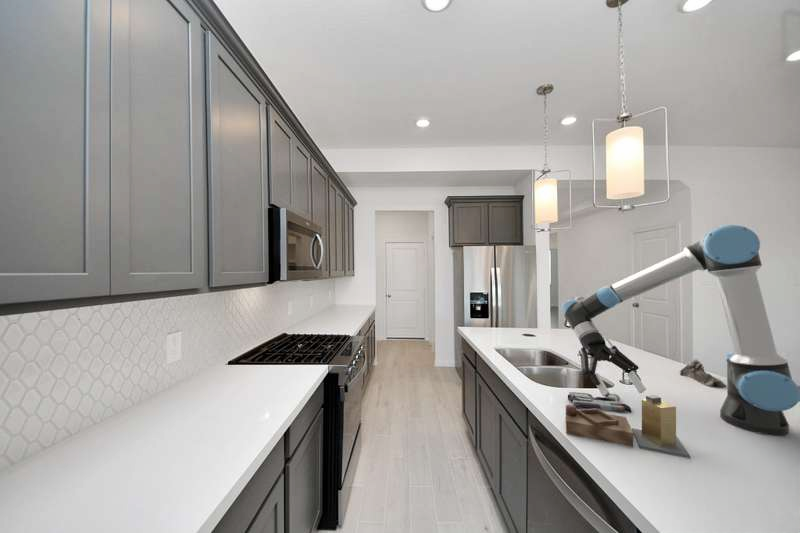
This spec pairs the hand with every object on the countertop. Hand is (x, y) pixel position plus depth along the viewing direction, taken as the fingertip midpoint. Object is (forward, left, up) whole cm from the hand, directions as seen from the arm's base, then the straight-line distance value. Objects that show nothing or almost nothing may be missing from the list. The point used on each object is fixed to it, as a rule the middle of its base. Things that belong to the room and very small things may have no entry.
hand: (624, 393), depth 103 cm
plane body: (+9, +8, -11) cm, 16 cm away
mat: (-7, +8, -11) cm, 15 cm away
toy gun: (+6, -17, -12) cm, 21 cm away
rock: (-40, -67, -11) cm, 78 cm away
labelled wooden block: (-7, +8, -10) cm, 14 cm away
